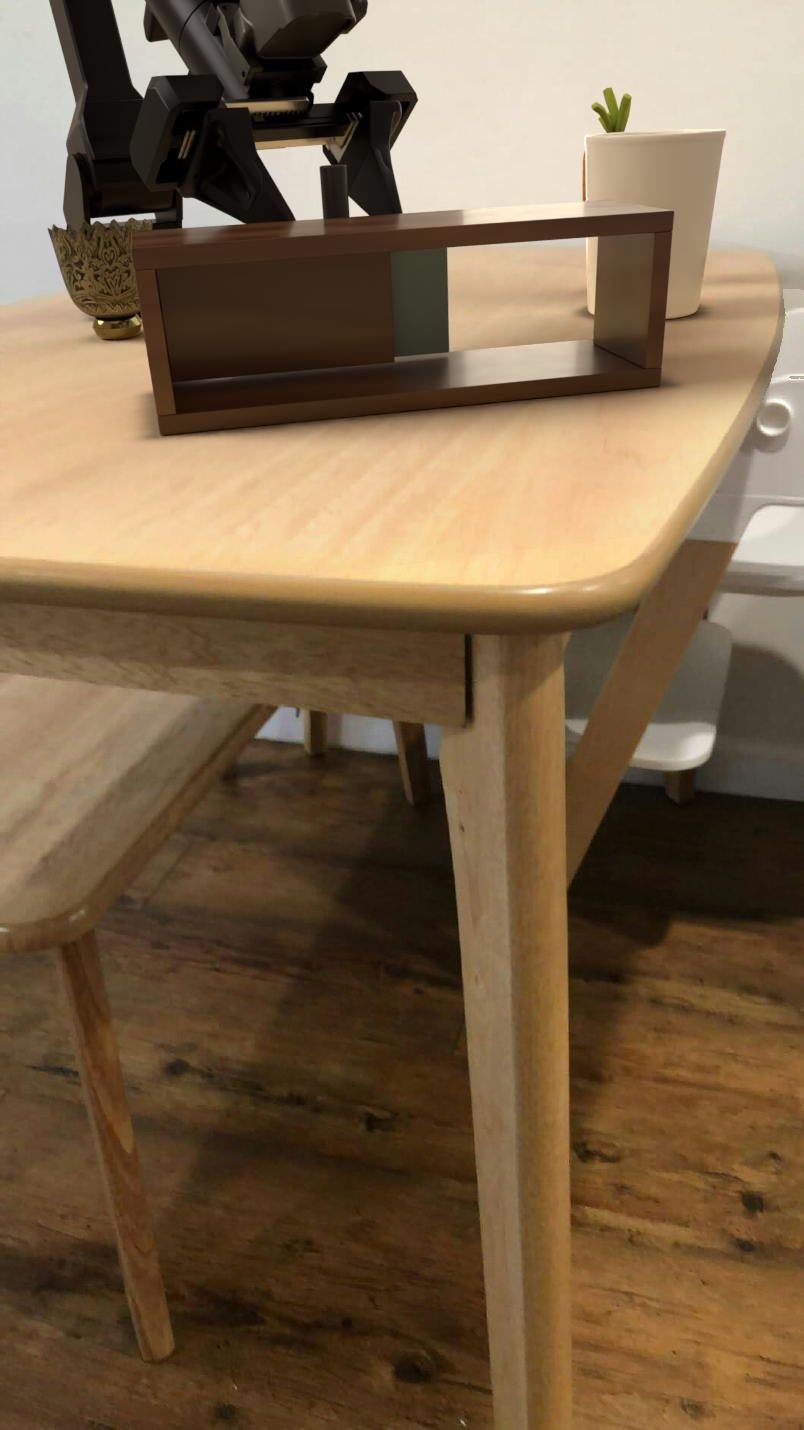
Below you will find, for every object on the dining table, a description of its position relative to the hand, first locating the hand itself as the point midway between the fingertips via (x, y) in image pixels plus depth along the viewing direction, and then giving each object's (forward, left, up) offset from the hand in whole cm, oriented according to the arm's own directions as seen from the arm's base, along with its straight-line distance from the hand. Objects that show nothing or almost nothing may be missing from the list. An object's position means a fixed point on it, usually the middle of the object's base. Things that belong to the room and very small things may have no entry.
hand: (351, 237), depth 63 cm
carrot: (-23, +26, -8) cm, 36 cm away
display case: (+8, +1, -8) cm, 11 cm away
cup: (-19, -15, -8) cm, 26 cm away
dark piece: (+1, -2, -6) cm, 7 cm away
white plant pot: (-11, +24, -8) cm, 28 cm away
